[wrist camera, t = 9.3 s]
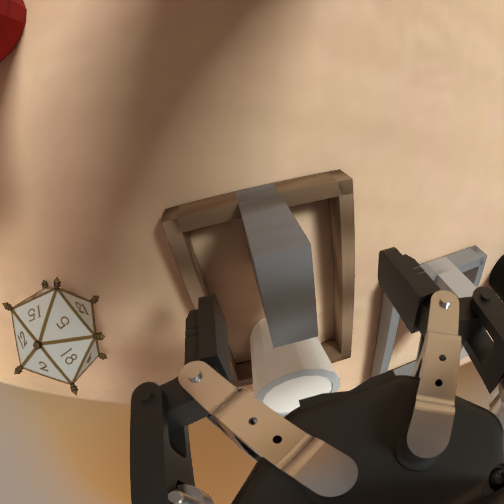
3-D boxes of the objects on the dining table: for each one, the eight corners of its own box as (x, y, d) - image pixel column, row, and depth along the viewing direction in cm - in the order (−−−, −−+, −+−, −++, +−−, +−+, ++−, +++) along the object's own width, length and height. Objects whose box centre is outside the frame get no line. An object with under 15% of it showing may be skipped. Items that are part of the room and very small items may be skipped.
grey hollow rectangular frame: (385, 275, 25) (431, 338, 19) (475, 245, 26) (523, 289, 19) (369, 382, 35) (391, 432, 28) (441, 352, 35) (468, 393, 28)
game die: (101, 282, 26) (139, 382, 22) (30, 314, 23) (59, 413, 19) (65, 230, 18) (104, 366, 15) (-21, 274, 16) (0, 406, 12)
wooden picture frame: (164, 209, 19) (146, 282, 13) (339, 169, 20) (404, 220, 13) (228, 372, 29) (237, 442, 22) (343, 342, 29) (372, 406, 22)
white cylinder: (321, 301, 26) (349, 362, 20) (310, 352, 30) (331, 408, 24) (242, 309, 25) (255, 377, 19) (243, 360, 29) (253, 421, 23)
